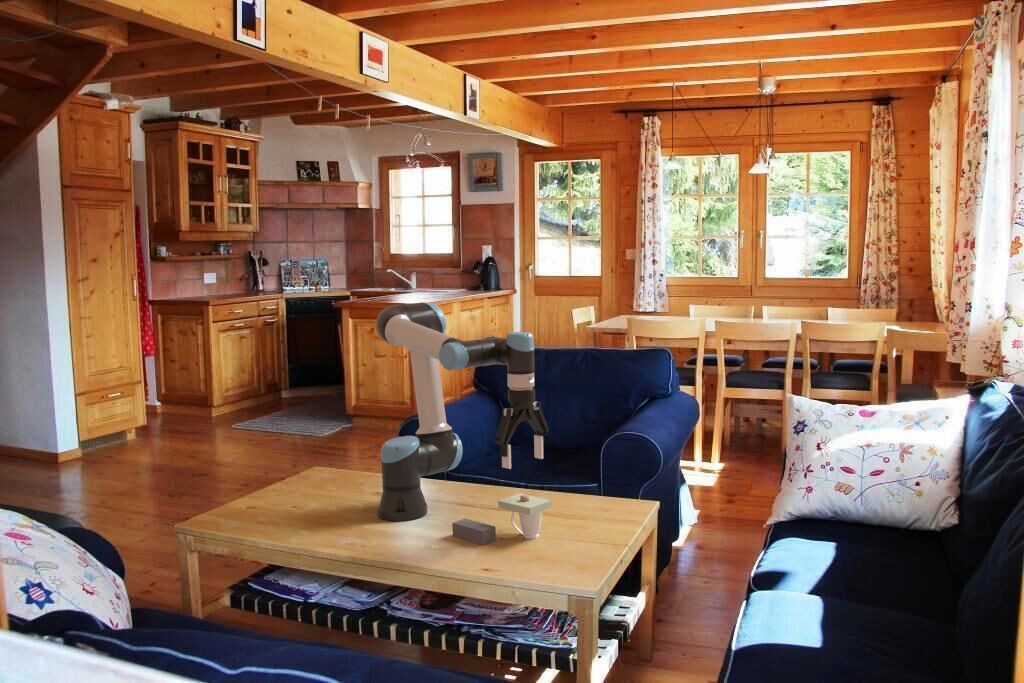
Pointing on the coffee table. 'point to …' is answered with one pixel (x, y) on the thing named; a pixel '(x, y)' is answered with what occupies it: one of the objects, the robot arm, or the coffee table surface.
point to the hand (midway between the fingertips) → (523, 462)
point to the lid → (524, 504)
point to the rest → (474, 531)
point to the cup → (529, 524)
